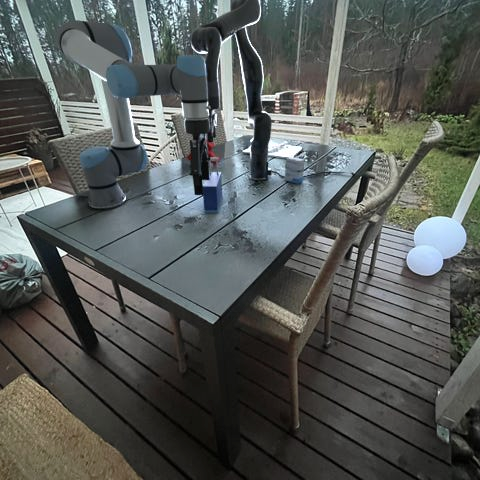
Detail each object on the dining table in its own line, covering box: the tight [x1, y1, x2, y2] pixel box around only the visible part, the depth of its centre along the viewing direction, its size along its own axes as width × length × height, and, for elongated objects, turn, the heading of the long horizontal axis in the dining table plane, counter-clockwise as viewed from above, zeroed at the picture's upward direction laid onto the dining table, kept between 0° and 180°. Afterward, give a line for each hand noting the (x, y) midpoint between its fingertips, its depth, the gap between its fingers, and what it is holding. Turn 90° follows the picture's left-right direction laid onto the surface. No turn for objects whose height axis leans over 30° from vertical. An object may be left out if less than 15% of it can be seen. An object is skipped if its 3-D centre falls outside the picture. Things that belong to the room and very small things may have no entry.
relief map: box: [242, 138, 304, 160], centre depth 192 cm, size 27×35×5 cm
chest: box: [202, 176, 223, 214], centre depth 117 cm, size 16×6×11 cm, turn 177°
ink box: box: [284, 156, 306, 185], centre depth 140 cm, size 8×5×12 cm, turn 47°
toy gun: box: [186, 139, 221, 167], centre depth 167 cm, size 18×4×15 cm
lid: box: [203, 156, 222, 189], centre depth 112 cm, size 17×6×9 cm, turn 177°
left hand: (202, 186), depth 91 cm, fingers open, 13 cm apart
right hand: (212, 139), depth 110 cm, fingers open, 8 cm apart
